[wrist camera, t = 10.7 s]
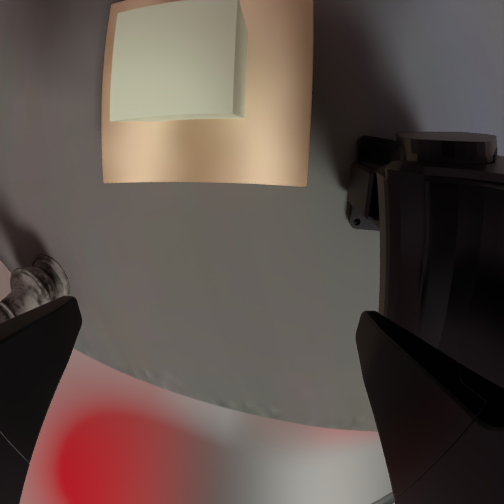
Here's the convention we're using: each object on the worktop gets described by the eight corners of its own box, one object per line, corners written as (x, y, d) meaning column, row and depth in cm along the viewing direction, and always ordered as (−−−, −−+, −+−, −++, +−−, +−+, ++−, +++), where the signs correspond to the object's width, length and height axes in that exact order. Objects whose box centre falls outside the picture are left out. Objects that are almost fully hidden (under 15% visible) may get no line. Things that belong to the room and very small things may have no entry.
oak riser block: (305, 11, 14) (313, -13, 11) (299, 175, 19) (306, 186, 16) (136, 20, 15) (111, 4, 11) (131, 172, 20) (103, 183, 16)
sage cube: (248, 33, 12) (238, -5, 8) (244, 119, 14) (232, 113, 10) (158, 40, 13) (117, 13, 8) (154, 121, 15) (109, 121, 10)
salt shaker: (48, 242, 23) (-41, 309, 12) (81, 293, 24) (8, 377, 13) (23, 266, 24) (-51, 328, 13) (53, 311, 26) (-11, 383, 15)
